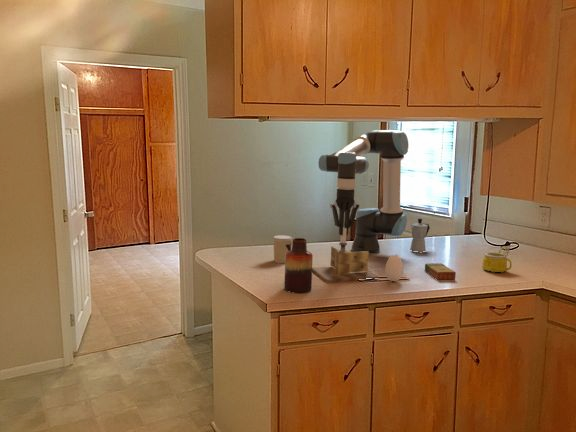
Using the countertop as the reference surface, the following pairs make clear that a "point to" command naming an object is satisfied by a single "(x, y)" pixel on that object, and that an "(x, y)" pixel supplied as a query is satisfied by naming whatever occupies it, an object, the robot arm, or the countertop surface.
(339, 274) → the hinge mount
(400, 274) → the egg
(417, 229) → the coffee maker
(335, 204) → the robot arm
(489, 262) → the mug
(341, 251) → the hinge pin
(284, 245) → the coffee cup
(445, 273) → the carton
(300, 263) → the vase
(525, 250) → the countertop surface
